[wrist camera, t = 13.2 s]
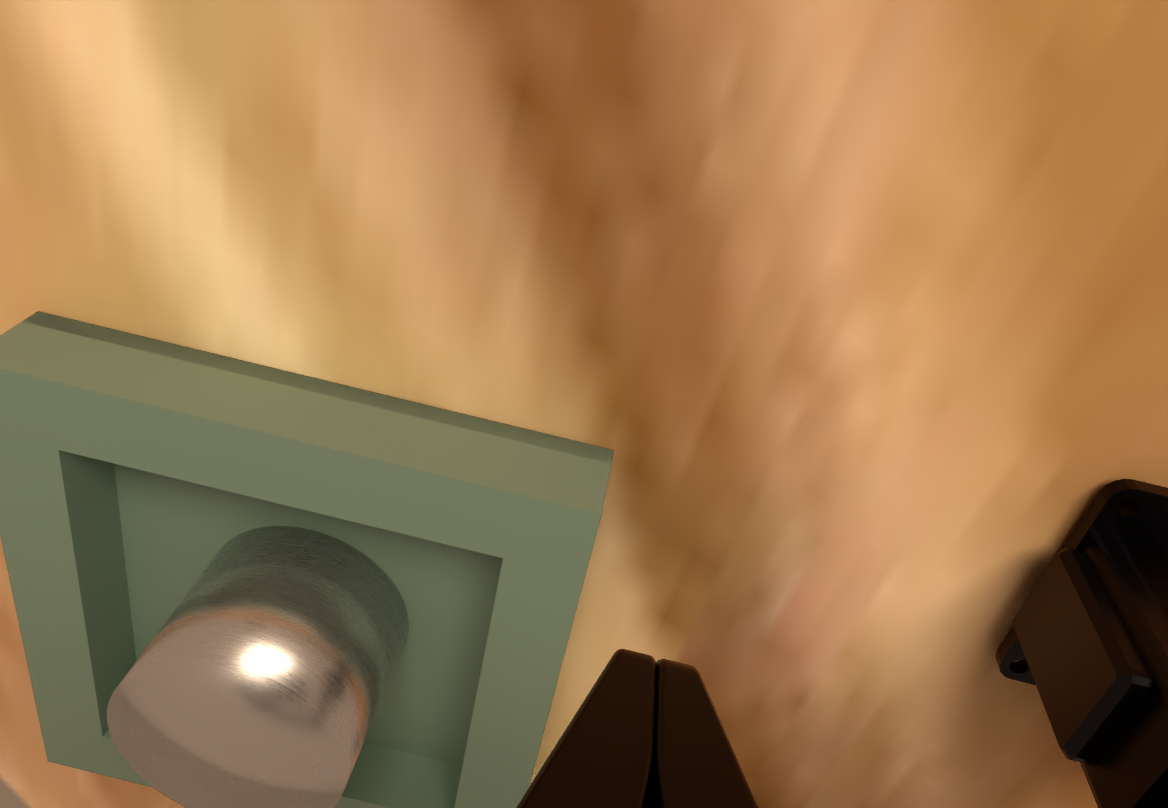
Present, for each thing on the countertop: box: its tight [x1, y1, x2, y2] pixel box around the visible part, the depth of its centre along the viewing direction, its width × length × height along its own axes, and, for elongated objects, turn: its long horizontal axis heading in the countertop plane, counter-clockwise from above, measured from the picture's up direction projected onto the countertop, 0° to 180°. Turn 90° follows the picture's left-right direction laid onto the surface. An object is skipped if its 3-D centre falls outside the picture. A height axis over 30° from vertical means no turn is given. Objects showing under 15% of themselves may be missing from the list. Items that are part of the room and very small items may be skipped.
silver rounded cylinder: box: [107, 526, 409, 808], centre depth 24 cm, size 6×6×5 cm
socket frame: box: [0, 311, 614, 808], centre depth 25 cm, size 15×15×3 cm
